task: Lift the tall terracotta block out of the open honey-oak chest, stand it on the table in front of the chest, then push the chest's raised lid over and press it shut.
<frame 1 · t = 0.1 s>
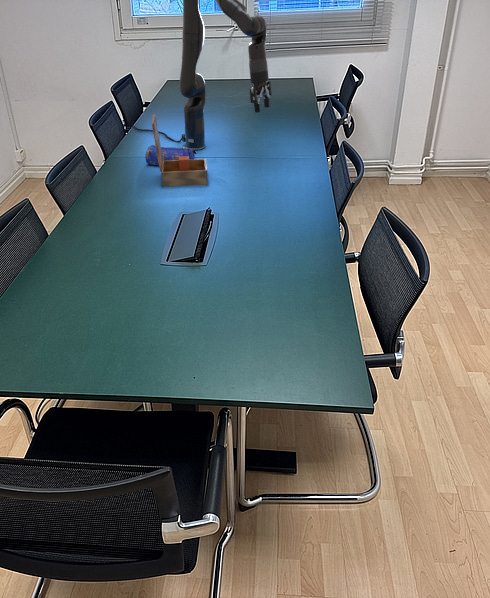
hand: (262, 109, 236), 22 cm above the table, tool pointing down, fingers open, 8 cm apart
pencil case: (171, 167, 245), on the table
block: (184, 177, 232), point 1 cm above the table, touching chest
lid: (157, 142, 221), point 17 cm above the table, hinge at 95.0°
chest: (184, 181, 231), on the table
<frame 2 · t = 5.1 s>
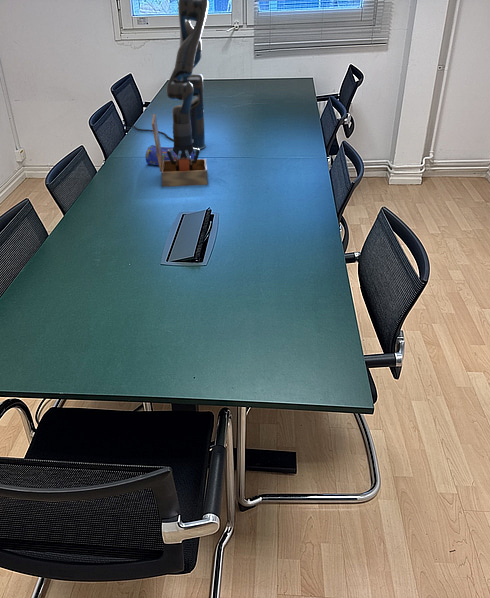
hand: (184, 172, 231), 3 cm above the table, tool pointing down, fingers closed on block, 4 cm apart
block: (184, 177, 232), point 1 cm above the table, touching chest, gripper
everything else where it was.
when the fingers open (2 cm above the table, at t = 13.1 s): block stays where it is, on the table.
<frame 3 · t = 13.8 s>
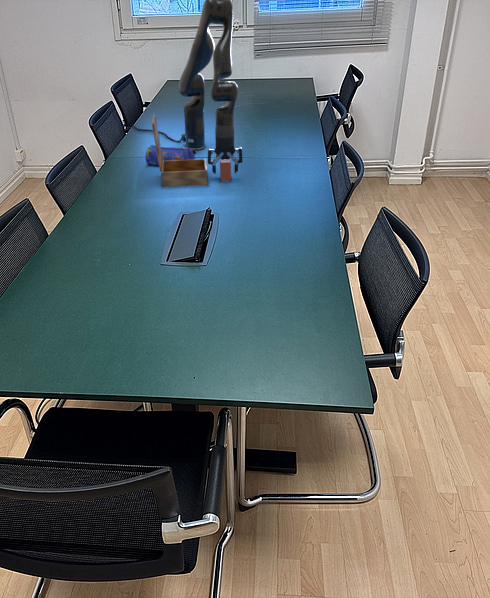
hand: (225, 172, 229), 3 cm above the table, tool pointing down, fingers open, 8 cm apart
block: (225, 180, 230), on the table
everything else where it was.
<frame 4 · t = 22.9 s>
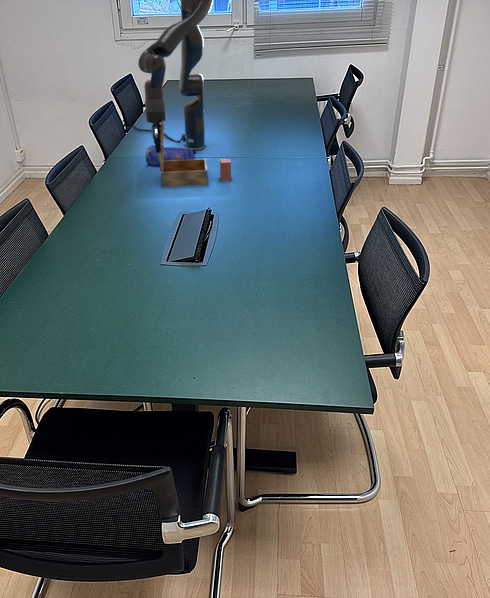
hand: (158, 151, 224), 13 cm above the table, tool pointing down, fingers closed
lid: (162, 142, 221), point 17 cm above the table, hinge at 84.1°, touching gripper
everything else where it was.
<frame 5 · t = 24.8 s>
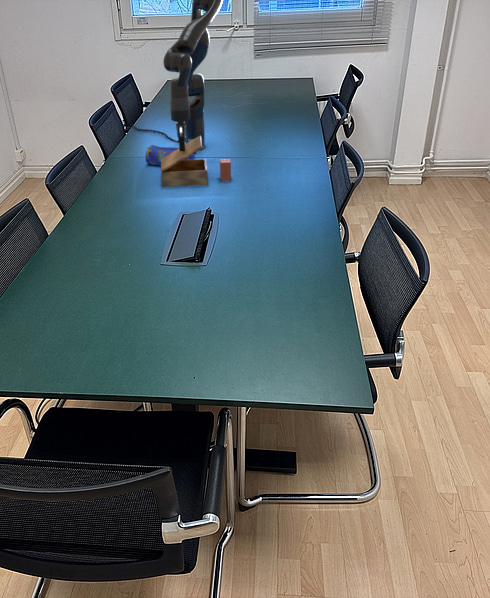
hand: (182, 150, 224), 13 cm above the table, tool pointing down, fingers closed
lid: (181, 153, 224), point 12 cm above the table, hinge at 29.2°
everything else where it was.
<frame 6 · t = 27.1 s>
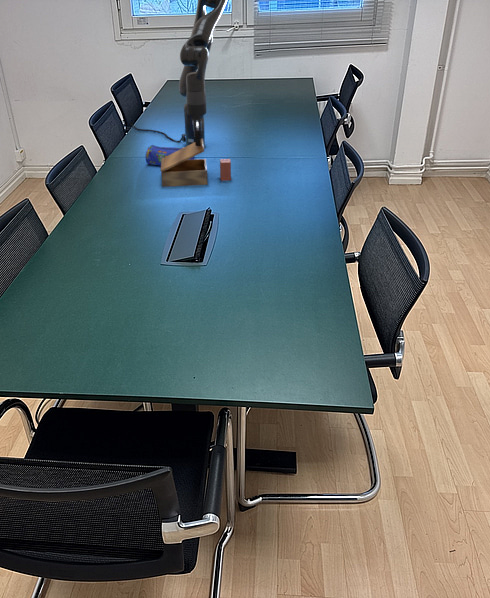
hand: (198, 145, 223), 15 cm above the table, tool pointing down, fingers closed
lid: (182, 155, 225), point 11 cm above the table, hinge at 24.4°
everything else where it was.
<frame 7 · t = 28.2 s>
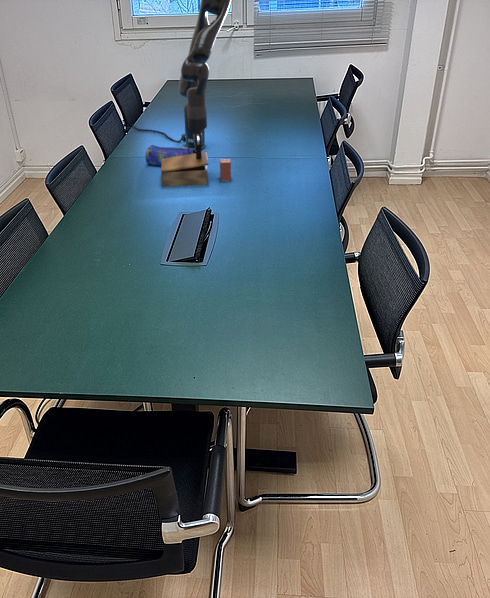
hand: (198, 158, 226), 10 cm above the table, tool pointing down, fingers closed
lid: (184, 161, 226), point 8 cm above the table, hinge at 6.8°, touching gripper
everything else where it was.
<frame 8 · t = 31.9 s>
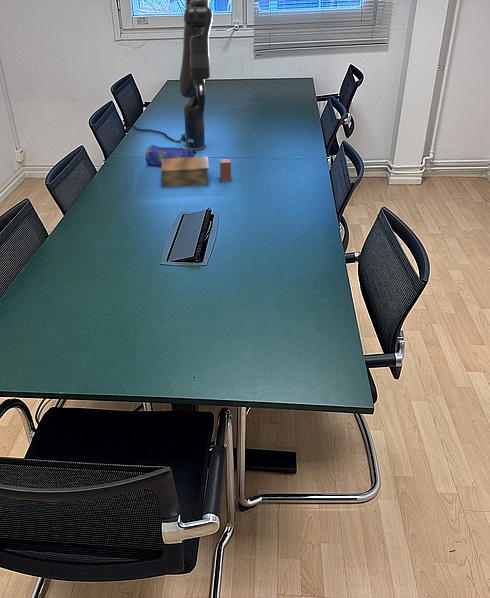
hand: (201, 110, 221), 27 cm above the table, tool pointing down, fingers closed
lid: (184, 164, 227), point 7 cm above the table, hinge at 1.0°
everything else where it was.
at the end: block 0.2 cm from the target spot, on the table; block tilted 0°; lid at +1° (first picture: +95°) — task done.
